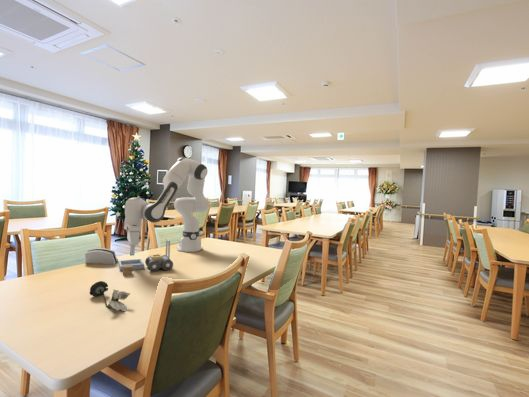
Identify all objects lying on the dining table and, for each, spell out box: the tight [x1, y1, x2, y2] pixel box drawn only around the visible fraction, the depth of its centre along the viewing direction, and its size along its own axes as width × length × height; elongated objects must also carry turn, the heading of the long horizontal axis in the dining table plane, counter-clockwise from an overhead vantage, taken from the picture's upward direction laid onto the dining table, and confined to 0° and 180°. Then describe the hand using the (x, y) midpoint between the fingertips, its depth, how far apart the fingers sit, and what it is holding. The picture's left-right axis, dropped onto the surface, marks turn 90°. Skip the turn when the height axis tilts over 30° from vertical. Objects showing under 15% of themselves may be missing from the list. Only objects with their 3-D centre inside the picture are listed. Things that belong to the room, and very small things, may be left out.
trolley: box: [144, 238, 174, 273], centre depth 153 cm, size 13×12×16 cm
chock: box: [121, 264, 133, 277], centre depth 142 cm, size 5×4×4 cm
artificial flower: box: [89, 280, 131, 312], centre depth 107 cm, size 9×22×10 cm, turn 47°
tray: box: [117, 258, 145, 272], centre depth 154 cm, size 12×12×2 cm
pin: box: [129, 243, 135, 257], centre depth 153 cm, size 2×2×7 cm
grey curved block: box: [84, 247, 119, 265], centre depth 158 cm, size 17×5×10 cm, turn 93°
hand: (132, 250), depth 153 cm, fingers closed on pin, 2 cm apart
